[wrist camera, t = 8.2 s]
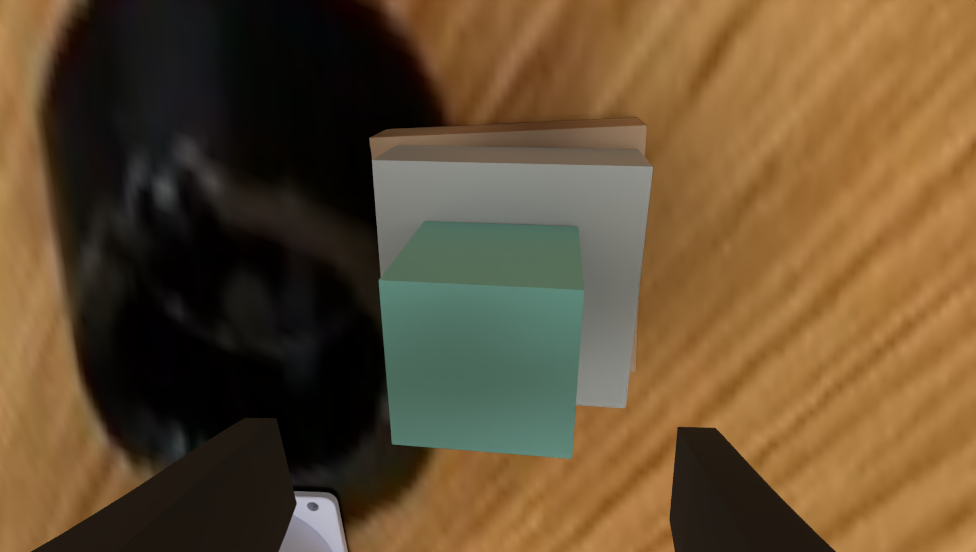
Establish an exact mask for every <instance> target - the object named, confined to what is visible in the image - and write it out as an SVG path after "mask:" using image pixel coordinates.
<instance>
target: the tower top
mask: <svg viewBox="0 0 976 552" xmlns="http://www.w3.org/2000/svg"><path fill="white" fill-rule="evenodd" d="M372 167H373V181H374V194H375V207H376V220H377V234H378V247H379V260H380V273H381V276H382V275H383V274H384V273H385V271H386V270H387V269H388V267H389V266H390V265H391V263H392V262H393V261H394V260H395V258H396V257H397V256H398V254H399V253H400V252H401V251H402V249H403V248H404V247H405V245H406V244H407V243H408V241H409V240H410V239H411V238H412V236H413V235H414V234H415V232H416V231H417V230H418V229H419V227H420V226H421V225H422V223H423V222H424V221H437V222H465V223H493V224H521V225H550V226H578V229H579V240H580V251H581V261H582V272H583V283H584V300H583V314H582V327H581V341H580V355H579V369H578V383H577V397H576V405H584V406H599V407H615V408H626V399H627V391H628V382H629V373H630V364H631V356H632V347H633V338H634V330H635V321H636V312H637V303H638V295H639V286H640V277H641V269H642V260H643V251H644V242H645V234H646V225H647V216H648V207H649V199H650V190H651V181H652V173H653V166H652V165H651V164H650V162H649V161H648V160H647V159H646V158H645V157H644V155H643V154H642V153H641V152H640V151H639V150H635V149H586V148H536V147H487V146H438V145H396V146H394V147H393V148H391V149H389V150H388V151H386V152H384V153H383V154H381V155H380V156H378V157H376V158H375V159H373V160H372Z"/></svg>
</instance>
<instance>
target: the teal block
mask: <svg viewBox="0 0 976 552" xmlns="http://www.w3.org/2000/svg"><path fill="white" fill-rule="evenodd" d="M379 291H380V303H381V316H382V328H383V340H384V352H385V364H386V376H387V388H388V400H389V413H390V425H391V437H392V444H396V445H408V446H420V447H432V448H445V449H457V450H469V451H482V452H494V453H506V454H518V455H531V456H543V457H555V458H568V459H572V453H573V439H574V425H575V411H576V397H577V383H578V369H579V355H580V341H581V327H582V314H583V300H584V283H583V272H582V261H581V251H580V240H579V229H578V226H550V225H521V224H493V223H465V222H437V221H424V222H423V223H422V225H421V226H420V227H419V229H418V230H417V231H416V232H415V234H414V235H413V236H412V238H411V239H410V240H409V241H408V243H407V244H406V245H405V247H404V248H403V249H402V251H401V252H400V253H399V254H398V256H397V257H396V258H395V260H394V261H393V262H392V263H391V265H390V266H389V267H388V269H387V270H386V271H385V273H384V274H383V275H382V276H381V278H380V279H379Z"/></svg>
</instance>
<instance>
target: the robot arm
mask: <svg viewBox="0 0 976 552" xmlns="http://www.w3.org/2000/svg"><path fill="white" fill-rule="evenodd" d="M313 502H314V503H316V504H314V503H313ZM670 525H671V531H672V536H673V542H674V548H675V552H836V551H834V550H833V549H832V548H831V547H830V546H829V545H828V544H827V543H826V542H825V541H824V540H823V539H822V538H821V537H820V536H819V535H818V534H817V533H816V532H815V531H814V530H813V529H812V528H811V527H810V526H809V525H808V524H807V523H806V522H805V521H804V520H803V519H802V518H801V517H800V516H799V515H798V514H797V513H796V512H795V511H794V510H793V509H792V508H791V507H790V506H789V505H788V504H787V503H786V502H785V501H784V500H783V499H782V498H781V497H780V496H779V495H778V494H777V493H776V492H775V491H774V490H773V489H772V488H771V487H770V486H769V485H768V484H767V483H766V482H765V481H764V480H763V478H762V477H761V476H760V475H759V474H758V473H757V472H756V471H755V470H754V469H753V468H752V467H751V466H750V465H749V463H748V462H747V461H746V460H745V459H744V458H743V457H742V456H741V455H740V454H739V453H738V452H737V450H736V449H735V448H734V447H733V446H732V445H731V444H730V443H729V442H728V441H727V440H726V439H725V437H724V436H723V435H722V434H721V433H720V432H719V431H718V430H717V429H716V428H696V427H678V430H677V442H676V453H675V464H674V475H673V486H672V497H671V509H670ZM31 552H348V550H347V545H346V540H345V535H344V530H343V525H342V520H341V515H340V510H339V505H338V501H337V499H336V497H335V496H334V495H332V494H330V493H326V492H304V491H294V490H293V486H292V482H291V477H290V473H289V469H288V465H287V461H286V457H285V452H284V448H283V444H282V440H281V436H280V431H279V427H278V423H277V419H276V418H245V419H243V420H241V421H239V422H237V423H236V424H234V425H232V426H231V427H229V428H227V429H226V430H224V431H223V432H221V433H219V434H218V435H216V436H215V437H213V438H212V439H210V440H208V441H207V442H205V443H204V444H202V445H201V446H199V447H198V448H196V449H195V450H193V451H192V452H190V453H189V454H187V455H186V456H184V457H183V458H181V459H180V460H178V461H177V462H175V463H174V464H172V465H171V466H169V467H168V468H166V469H164V470H163V471H161V472H160V473H158V474H157V475H155V476H154V477H152V478H151V479H149V480H148V481H146V482H145V483H143V484H142V485H140V486H139V487H137V488H136V489H134V490H132V491H131V492H129V493H128V494H126V495H124V496H123V497H121V498H120V499H118V500H116V501H115V502H113V503H111V504H110V505H108V506H107V507H105V508H103V509H102V510H100V511H98V512H97V513H95V514H94V515H92V516H90V517H89V518H87V519H85V520H84V521H82V522H81V523H79V524H77V525H76V526H74V527H72V528H71V529H69V530H68V531H66V532H64V533H63V534H61V535H59V536H58V537H56V538H54V539H52V540H51V541H49V542H47V543H45V544H44V545H42V546H40V547H38V548H37V549H35V550H33V551H31Z"/></svg>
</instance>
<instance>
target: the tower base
mask: <svg viewBox="0 0 976 552" xmlns="http://www.w3.org/2000/svg"><path fill="white" fill-rule="evenodd" d="M646 128H647V125H646V124H645V123H643V122H642V121H641V120H640V119H638V118H637V117H633V118H612V119H591V120H570V121H549V122H528V123H507V124H485V125H464V126H443V127H422V128H401V129H386V130H384V131H382V132H380V133H378V134H376V135H374V136H372V137H370V138H369V140H370V147H371V154H372V160H373V159H375V158H376V157H378V156H380V155H381V154H383V153H384V152H386V151H388V150H389V149H391V148H393V147H394V146H396V145H438V146H487V147H536V148H586V149H635V150H639V151H640V152H641V153H642V154H643V155H644V157H645V150H646ZM638 302H639V295H638ZM637 324H638V303H637V312H636V321H635V330H634V338H633V347H632V356H631V364H630V372H635V367H636V345H637Z"/></svg>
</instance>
